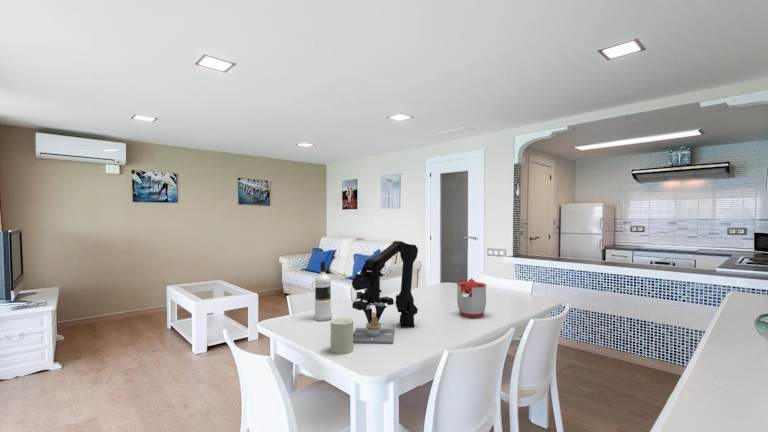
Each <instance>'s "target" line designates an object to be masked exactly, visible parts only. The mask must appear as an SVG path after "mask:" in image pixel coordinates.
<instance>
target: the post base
mask: <svg viewBox="0 0 768 432" xmlns="http://www.w3.org/2000/svg"><path fill="white" fill-rule="evenodd" d="M395 331H396V330H395V328H379V329H368V328H365V327H363V328H361V327H356V328H355V329H354V331H353V344H365V345H367V344H368V345H369V344H375V345H377V344H378V345H394V339H395Z"/></svg>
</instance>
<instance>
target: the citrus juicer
mask: <svg viewBox="0 0 768 432" xmlns="http://www.w3.org/2000/svg"><path fill="white" fill-rule="evenodd" d="M456 287H457V288H456V291H457V293H456V295H457V296H456V298H457V300H456V302H457V307H458V311H459V314H460V315H461V316H462V317H464V318H473V319H478V318H481V317H483V316H484V314H485V310H486V305H487V284H486V283H483V282H478V281H475V280H474V279H473V278H472V277H471V278H470V279H468V281H461V282H457V283H456Z"/></svg>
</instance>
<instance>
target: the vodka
mask: <svg viewBox="0 0 768 432" xmlns="http://www.w3.org/2000/svg"><path fill="white" fill-rule="evenodd" d="M319 269H320V274H319V275H317V276H316V277H315V279H314V287H315V288H314V314H313V319H314V320H315V321H317V322H327V321H331V320H332V317H333V313H332V307H331V306H332V305H331V303H332V299H331V298H332V297H331V296H332V295H331V293H332V292H331V290H332V288H331V281H332V279H331V277H330V276H329V275H327V274H326V261H324V260H321V261H320V267H319Z"/></svg>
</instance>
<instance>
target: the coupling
mask: <svg viewBox="0 0 768 432" xmlns="http://www.w3.org/2000/svg"><path fill="white" fill-rule="evenodd" d="M381 325H382V324H381V322H379V321H378V317H377V316H376V312H372V317H371V323H370V324H369V323H368V322H366V325H365V327H366V328H368V329H379V328H380V329H382V328H381V327H382V326H381Z"/></svg>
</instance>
